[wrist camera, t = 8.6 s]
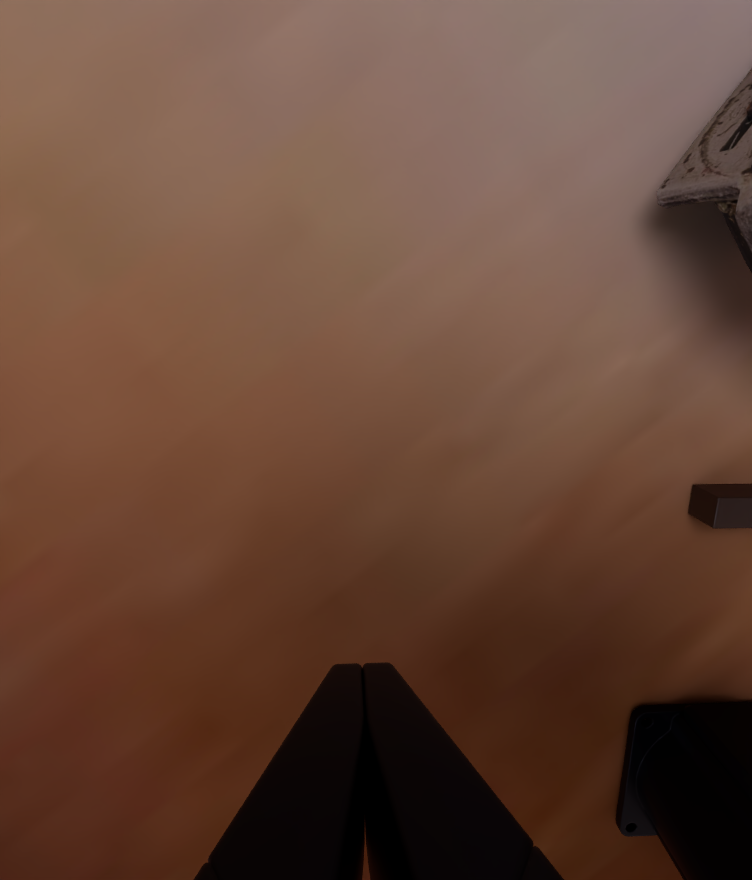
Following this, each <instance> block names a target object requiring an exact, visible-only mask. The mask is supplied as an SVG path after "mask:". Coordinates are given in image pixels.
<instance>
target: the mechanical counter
mask: <svg viewBox="0 0 752 880" xmlns="http://www.w3.org/2000/svg"><path fill="white" fill-rule="evenodd" d="M657 197H658V204H659V205H660V206H662V207H664V208H669V207H673V206H677V205H681V204H690V203H699V202H707V201H714V202H715V204H716V205H717V207H718V208H719V210H720V211H721V213H722V214H723V216H724V218H725V221H726V223H727V225H728V227H729V229H730V231H731V233H732V235H733V237H734V239H735V241H736V243H737V245H738V247H739V250H740V252H741V254H742V256H743V258H744V260H745V262H746V264H747V266H748V267H749V269H750V271H751V272H752V69H751V70H750V72H749V73H748V74H747V76H746V77H745V78H744V80H743V81H742V82H741V83H740V85H739V86H738V87H737V88H736V90H735V91H734V92H733V93H732V95H731V96H730V97H729V98H728V99H727V101H726V102H725V103H724V104H723V105H722V107H721V108H720V109H719V110H718V112H717V113H716V114H715V115H714V117H713V118H712V119H711V120H710V122H709V123H708V124H707V125H706V127H705V128H704V129H703V131H702V132H701V133H700V134H699V136H698V137H697V138H696V140H695V141H694V142H693V144H692V145H691V146H690V148H689V149H688V150H687V152H686V153H685V154H684V156H683V157H682V158H681V160H680V161H679V162H678V164H677V165H676V166H675V168H674V169H673V170H672V172H671V173H670V174H669V176H668V177H667V179H666V180H665V181H664V183H663V184H662V185H661V187H660V188H659V189H658V191H657Z"/></svg>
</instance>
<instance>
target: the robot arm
mask: <svg viewBox="0 0 752 880" xmlns="http://www.w3.org/2000/svg"><path fill="white" fill-rule="evenodd" d="M644 718H646V719H645V720H643V719H644ZM616 824H617V826H618V828H619V830H620V831H621V833H622V834H623V835H625V836H650V835H657V836H658V837H659V839H660V841H661V842H662V844H663V846H664V847H665V849H666V851H667V852H668V854H669V856H670V857H671V859H672V861H673V863H674V864H675V866H676V868H677V869H678V871H679V873H680V874H681V876H682V878H683V879H684V880H752V702H727V703H698V704H670V705H643V706H639V707H637V708H635V709H634V710H633V711H632V713H631V717H630V723H629V730H628V737H627V744H626V751H625V758H624V765H623V772H622V779H621V786H620V793H619V800H618V807H617V814H616ZM365 832H366V847H367V856H368V864H369V872H370V879H371V880H564V879H563V878H562V877H561V875H560V874H559V873H558V872H557V870H556V869H555V868H554V867H553V865H552V864H551V863H550V862H549V860H548V859H547V858H546V857H545V855H544V854H543V853H542V851H541V850H540V849H539V848H538V847H536V846H535V847H533V841H532V839H531V838H530V837H529V836H528V834H527V833H526V832H525V831H524V829H523V828H522V827H521V826H520V824H519V823H518V822H517V821H516V819H515V818H514V817H513V816H512V814H511V813H510V812H509V811H508V809H507V808H506V807H505V806H504V804H503V803H502V802H501V800H500V799H499V798H498V797H497V795H496V794H495V793H494V792H493V790H492V789H491V788H490V787H489V785H488V784H487V783H486V782H485V780H484V779H483V778H482V777H481V775H480V774H479V773H478V772H477V770H476V769H475V768H474V767H473V765H472V764H471V763H470V762H469V760H468V759H467V758H466V757H465V755H464V754H463V753H462V752H461V750H460V749H459V748H458V747H457V745H456V744H455V743H454V742H453V740H452V739H451V738H450V737H449V735H448V734H447V733H446V732H445V730H444V729H443V728H442V727H441V725H440V724H439V723H438V722H437V720H436V719H435V718H434V717H433V715H432V714H431V713H430V711H429V710H428V709H427V708H426V706H425V705H424V704H423V703H422V701H421V700H420V699H419V698H418V696H417V695H416V694H415V693H414V691H413V690H412V689H411V688H410V686H409V685H408V684H407V683H406V681H405V680H404V679H403V678H402V676H401V675H400V674H399V673H398V671H397V670H396V669H395V668H394V666H393V665H392V664H390V663H366V664H364V665H363V668H362V667H361V665H360V664H357V663H354V664H335V665H333V666H332V668H331V669H330V670H329V672H328V673H327V675H326V677H325V678H324V680H323V681H322V683H321V684H320V686H319V687H318V689H317V690H316V692H315V694H314V695H313V697H312V698H311V700H310V701H309V703H308V704H307V706H306V707H305V709H304V711H303V712H302V714H301V715H300V717H299V718H298V720H297V721H296V723H295V724H294V726H293V728H292V729H291V731H290V732H289V734H288V735H287V737H286V738H285V740H284V741H283V743H282V745H281V746H280V748H279V749H278V751H277V752H276V754H275V755H274V757H273V758H272V760H271V762H270V763H269V765H268V766H267V768H266V769H265V771H264V772H263V774H262V775H261V777H260V779H259V780H258V782H257V783H256V785H255V786H254V788H253V789H252V791H251V792H250V794H249V796H248V797H247V799H246V800H245V802H244V803H243V805H242V806H241V808H240V809H239V811H238V813H237V814H236V816H235V817H234V819H233V820H232V822H231V823H230V825H229V826H228V828H227V830H226V831H225V833H224V834H223V836H222V837H221V839H220V840H219V842H218V843H217V845H216V847H215V848H214V850H213V851H212V853H211V854H210V856H209V858H208V863H205V864H204V865H203V866H202V868H201V869H200V871H199V872H198V874H197V875H196V877H195V878H194V880H362V875H363V862H364V843H365Z"/></svg>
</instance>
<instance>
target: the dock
mask: <svg viewBox="0 0 752 880" xmlns="http://www.w3.org/2000/svg"><path fill="white" fill-rule="evenodd" d="M688 513H689V514H690V515H692V516H694V517H695V518H697V519H699V520H700V521H702V522H704V523H705V524H707V525H709V526H710V527H712V528H752V484H698V485H693V486H692V493H691V499H690V505H689V512H688Z"/></svg>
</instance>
